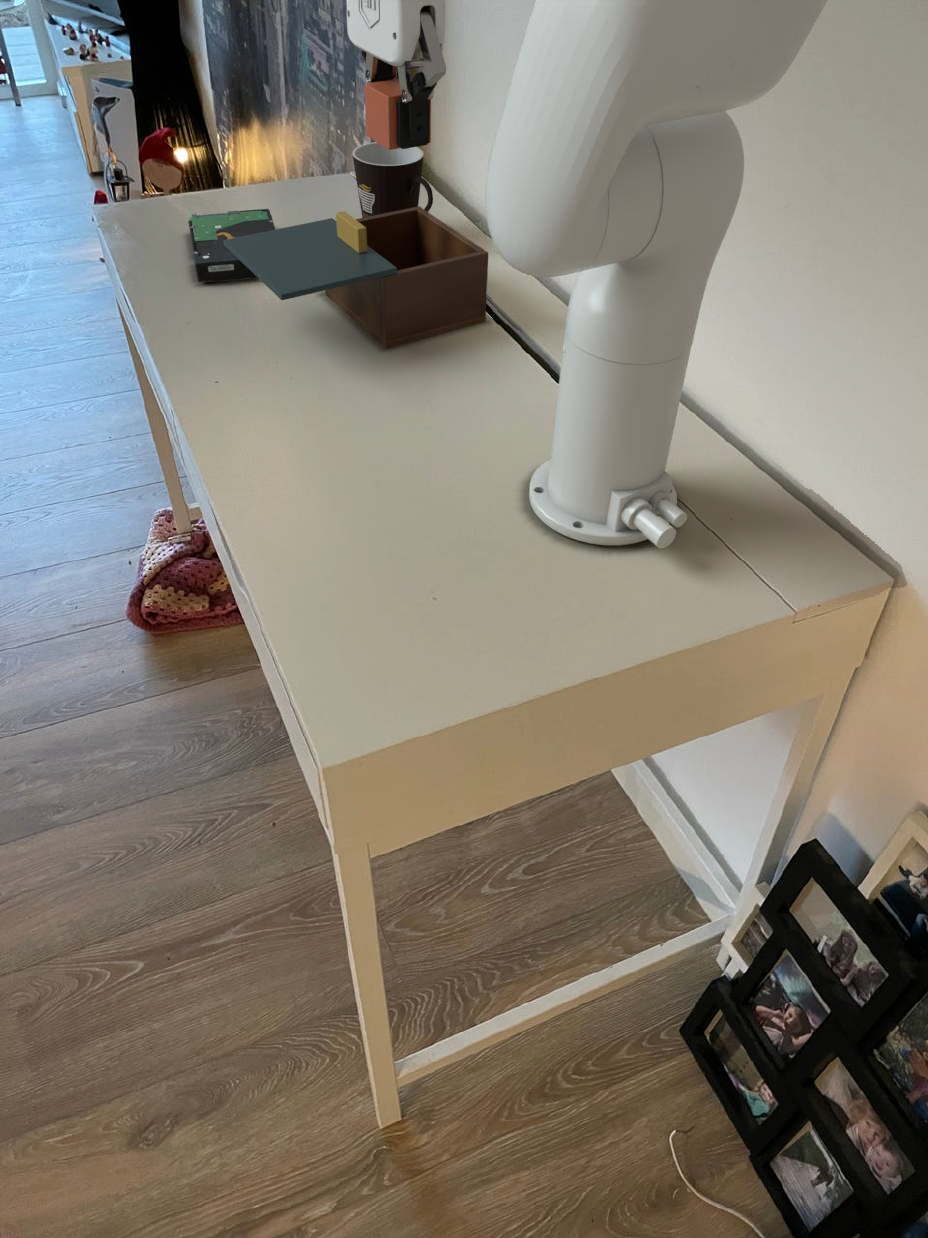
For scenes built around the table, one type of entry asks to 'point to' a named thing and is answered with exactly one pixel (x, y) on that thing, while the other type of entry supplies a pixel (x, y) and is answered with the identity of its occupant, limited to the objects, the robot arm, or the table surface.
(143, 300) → the table surface
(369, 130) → the terracotta block
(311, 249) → the teal box lid
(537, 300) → the table surface
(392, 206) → the coffee mug
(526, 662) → the table surface
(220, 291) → the table surface
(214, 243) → the disk drive
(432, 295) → the walnut box
